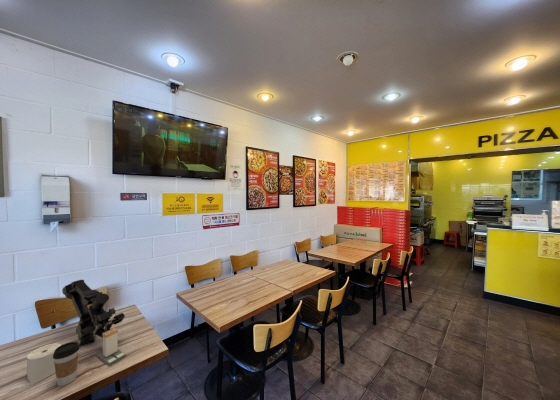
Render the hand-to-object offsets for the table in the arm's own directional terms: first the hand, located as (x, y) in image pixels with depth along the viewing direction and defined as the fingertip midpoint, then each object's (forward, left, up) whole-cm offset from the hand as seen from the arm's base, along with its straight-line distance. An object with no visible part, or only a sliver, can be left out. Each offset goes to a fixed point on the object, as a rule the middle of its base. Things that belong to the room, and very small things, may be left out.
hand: (108, 340), depth 110 cm
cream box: (+2, +1, -6) cm, 6 cm away
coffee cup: (+8, -14, -8) cm, 18 cm away
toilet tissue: (-4, -23, -8) cm, 25 cm away
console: (+2, +1, -8) cm, 8 cm away
